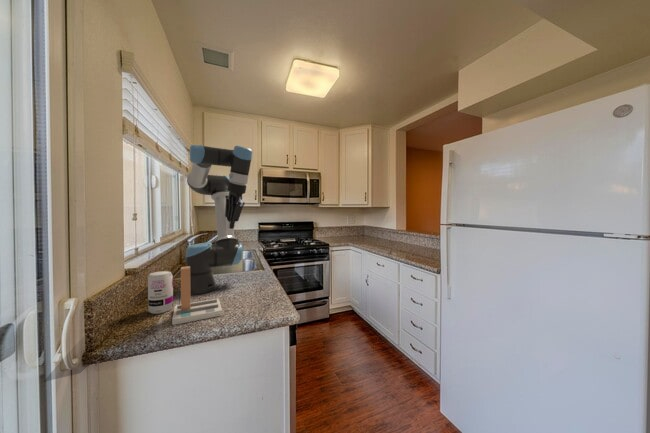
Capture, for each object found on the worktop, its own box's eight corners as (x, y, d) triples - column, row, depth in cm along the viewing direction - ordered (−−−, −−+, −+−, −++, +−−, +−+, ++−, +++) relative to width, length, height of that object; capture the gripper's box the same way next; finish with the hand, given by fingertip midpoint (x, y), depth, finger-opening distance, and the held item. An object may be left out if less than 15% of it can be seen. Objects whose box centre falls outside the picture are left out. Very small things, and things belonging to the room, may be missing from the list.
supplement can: (169, 304, 101) (168, 269, 100) (176, 309, 95) (175, 272, 95) (145, 310, 94) (145, 273, 94) (151, 316, 89) (151, 277, 89)
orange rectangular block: (181, 307, 91) (181, 266, 91) (190, 306, 93) (190, 266, 92) (181, 311, 88) (180, 269, 88) (190, 310, 89) (190, 268, 89)
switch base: (175, 310, 95) (175, 302, 95) (218, 302, 102) (218, 296, 102) (172, 325, 82) (172, 316, 82) (222, 315, 90) (222, 307, 90)
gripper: (222, 179, 103) (214, 230, 107) (237, 185, 95) (227, 240, 99) (238, 181, 109) (229, 229, 113) (253, 187, 101) (243, 239, 105)
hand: (228, 234), depth 106 cm, fingers closed
